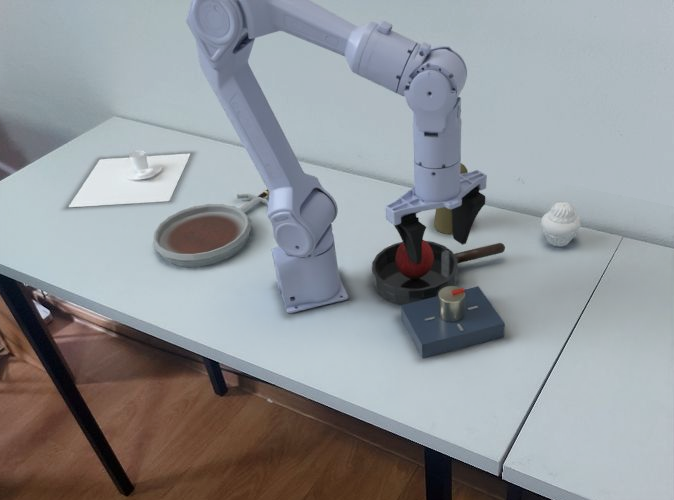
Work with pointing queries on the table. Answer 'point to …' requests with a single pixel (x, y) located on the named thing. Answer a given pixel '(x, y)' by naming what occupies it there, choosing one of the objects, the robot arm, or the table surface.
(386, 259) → the skillet
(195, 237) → the frying pan
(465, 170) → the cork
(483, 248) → the skillet handle
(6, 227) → the table surface
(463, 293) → the knob
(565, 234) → the muffin
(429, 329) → the blue control panel
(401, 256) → the red pomegranate
